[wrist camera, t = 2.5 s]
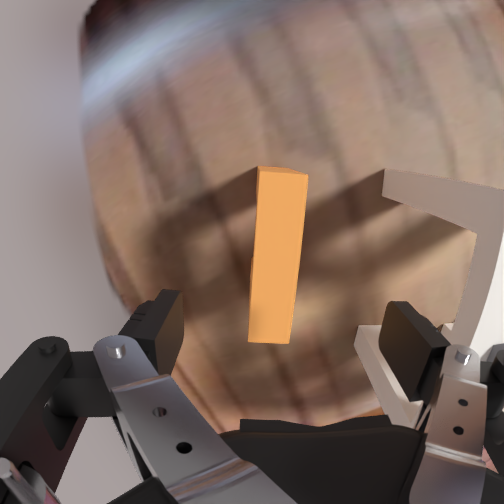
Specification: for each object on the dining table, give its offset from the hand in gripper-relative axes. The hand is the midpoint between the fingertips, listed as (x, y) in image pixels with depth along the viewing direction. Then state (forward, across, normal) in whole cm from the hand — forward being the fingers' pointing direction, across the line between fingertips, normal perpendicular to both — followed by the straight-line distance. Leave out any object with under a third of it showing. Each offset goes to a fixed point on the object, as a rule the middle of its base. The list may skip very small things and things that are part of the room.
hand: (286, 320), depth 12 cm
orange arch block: (+16, 0, 0) cm, 16 cm away
